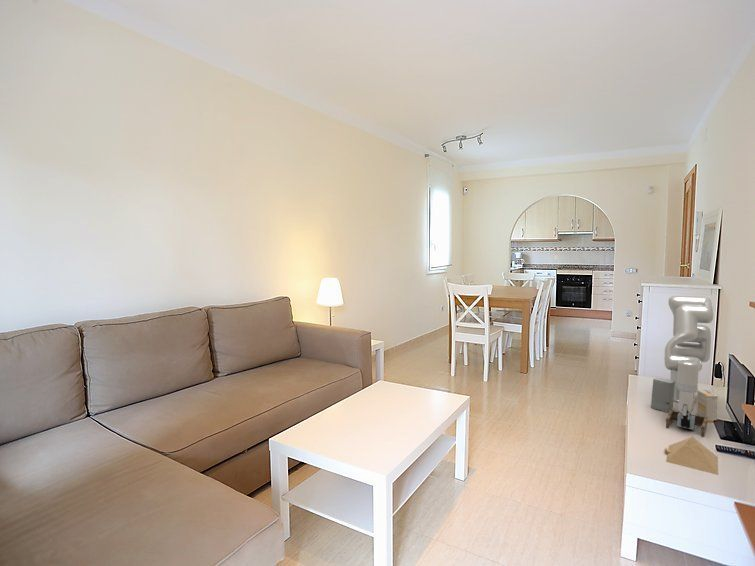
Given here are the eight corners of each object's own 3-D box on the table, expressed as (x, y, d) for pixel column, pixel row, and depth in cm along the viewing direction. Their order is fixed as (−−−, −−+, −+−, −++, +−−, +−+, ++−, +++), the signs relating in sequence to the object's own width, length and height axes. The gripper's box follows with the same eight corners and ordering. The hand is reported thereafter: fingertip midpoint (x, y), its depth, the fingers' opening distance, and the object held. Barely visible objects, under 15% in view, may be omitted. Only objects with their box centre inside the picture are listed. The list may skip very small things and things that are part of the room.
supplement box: (717, 422, 193) (718, 396, 192) (706, 422, 194) (707, 395, 193) (707, 415, 201) (708, 389, 200) (696, 415, 202) (697, 389, 201)
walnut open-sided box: (670, 418, 199) (670, 410, 198) (707, 426, 189) (707, 417, 189) (665, 428, 189) (666, 418, 189) (704, 437, 180) (704, 427, 179)
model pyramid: (666, 445, 174) (666, 423, 173) (718, 457, 163) (719, 434, 162) (662, 462, 161) (663, 438, 161) (719, 476, 150) (720, 451, 150)
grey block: (678, 422, 192) (679, 412, 191) (694, 426, 188) (695, 415, 187) (677, 426, 189) (677, 415, 188) (693, 429, 184) (693, 419, 184)
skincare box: (650, 408, 212) (651, 378, 210) (655, 404, 216) (656, 375, 215) (669, 413, 205) (670, 382, 204) (674, 409, 209) (675, 379, 208)
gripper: (680, 380, 195) (678, 417, 197) (674, 390, 183) (673, 429, 185) (699, 383, 190) (698, 421, 192) (695, 394, 178) (693, 434, 179)
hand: (686, 424), depth 188 cm, fingers closed on grey block, 4 cm apart
